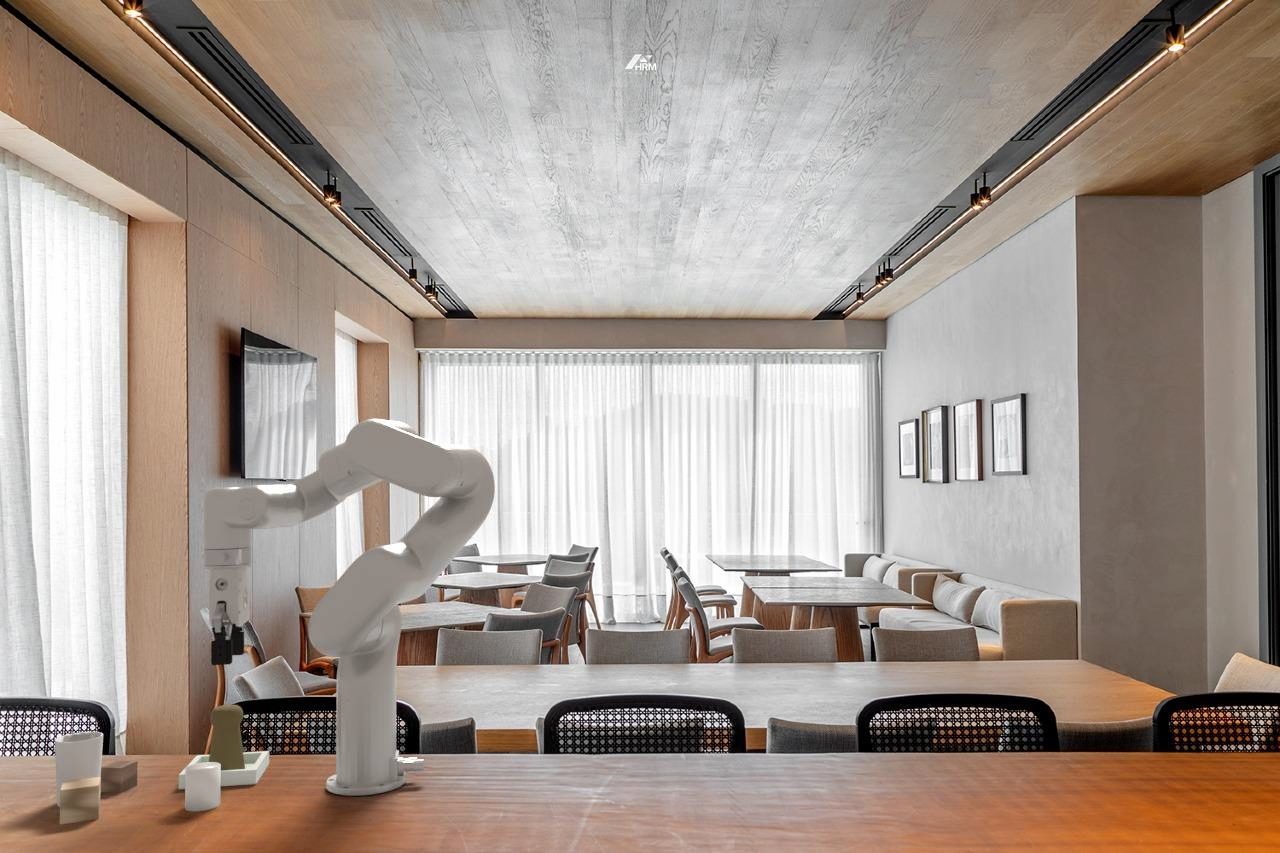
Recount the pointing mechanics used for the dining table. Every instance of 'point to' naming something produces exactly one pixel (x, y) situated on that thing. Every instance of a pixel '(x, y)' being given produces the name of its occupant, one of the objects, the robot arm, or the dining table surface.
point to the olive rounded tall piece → (227, 737)
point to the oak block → (80, 800)
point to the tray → (249, 775)
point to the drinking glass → (77, 757)
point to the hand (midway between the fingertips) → (228, 659)
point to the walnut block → (118, 776)
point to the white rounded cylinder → (202, 786)
